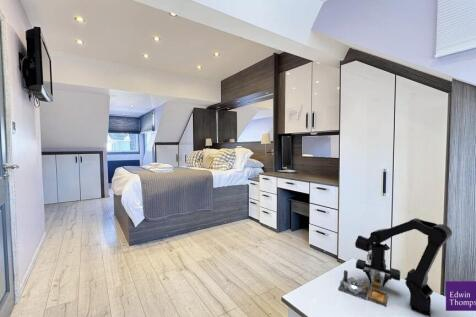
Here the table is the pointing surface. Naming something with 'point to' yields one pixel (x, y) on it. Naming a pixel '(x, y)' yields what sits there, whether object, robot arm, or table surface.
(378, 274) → the pneumatic valve
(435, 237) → the robot arm
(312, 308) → the table surface
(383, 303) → the brown open tray
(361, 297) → the sprocket base
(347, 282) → the sprocket
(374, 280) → the tan rectangular block
